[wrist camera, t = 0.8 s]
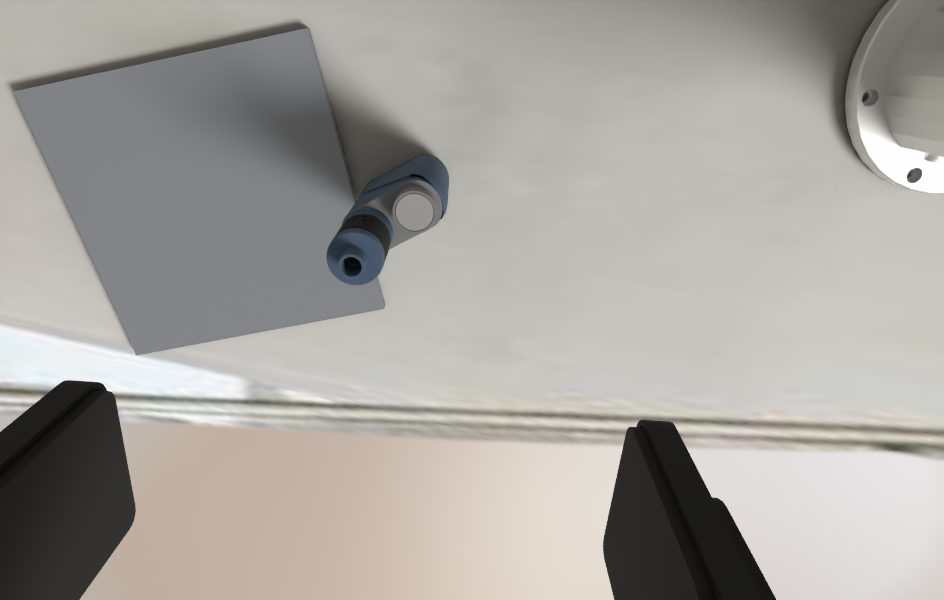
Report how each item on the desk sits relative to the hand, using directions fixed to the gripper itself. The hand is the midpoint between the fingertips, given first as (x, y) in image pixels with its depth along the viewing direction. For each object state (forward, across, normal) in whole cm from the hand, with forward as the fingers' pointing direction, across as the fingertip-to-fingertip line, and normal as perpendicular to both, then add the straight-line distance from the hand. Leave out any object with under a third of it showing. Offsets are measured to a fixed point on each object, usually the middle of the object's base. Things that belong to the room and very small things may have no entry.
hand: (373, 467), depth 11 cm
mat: (+25, +13, +2) cm, 28 cm away
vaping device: (+26, +2, +1) cm, 26 cm away
